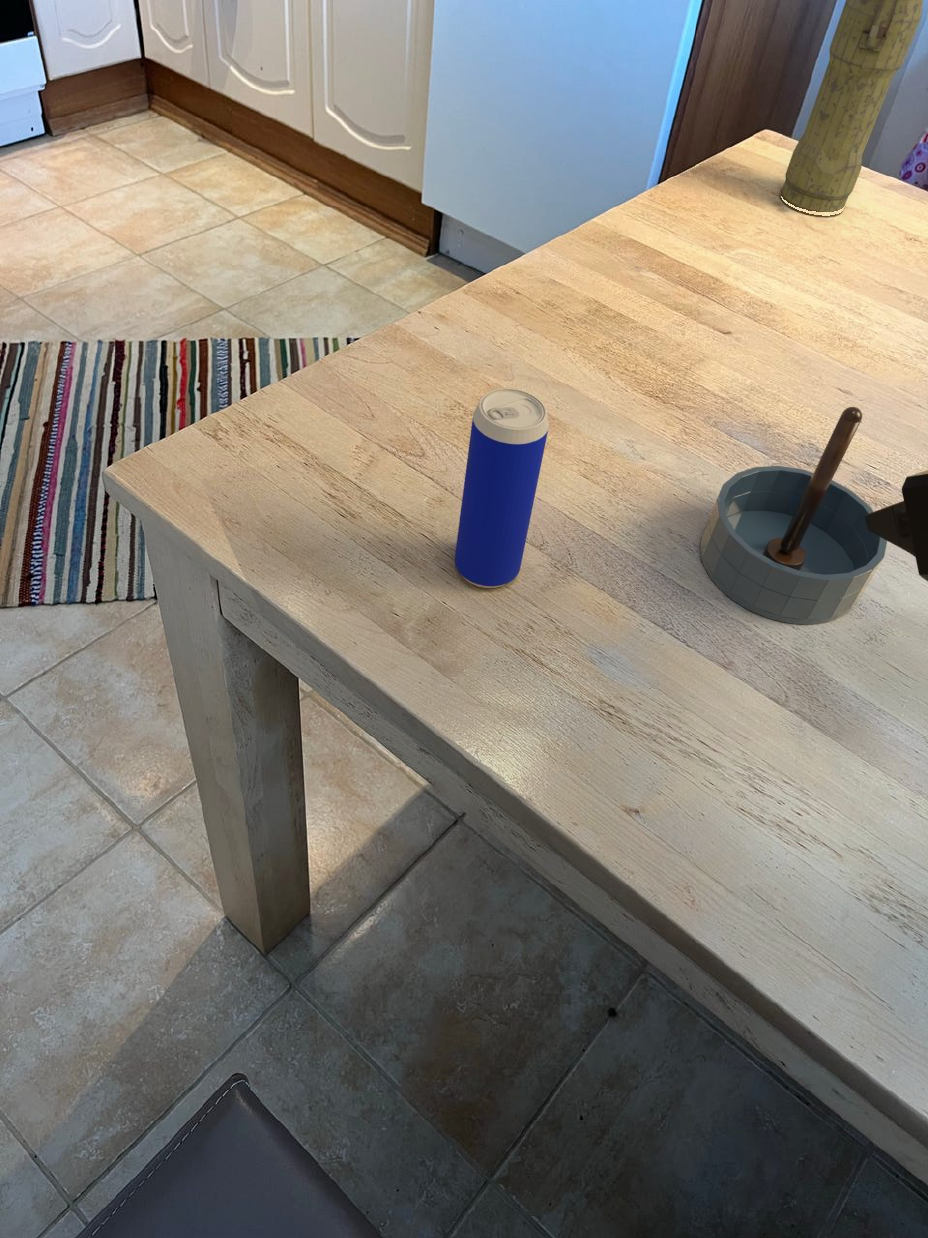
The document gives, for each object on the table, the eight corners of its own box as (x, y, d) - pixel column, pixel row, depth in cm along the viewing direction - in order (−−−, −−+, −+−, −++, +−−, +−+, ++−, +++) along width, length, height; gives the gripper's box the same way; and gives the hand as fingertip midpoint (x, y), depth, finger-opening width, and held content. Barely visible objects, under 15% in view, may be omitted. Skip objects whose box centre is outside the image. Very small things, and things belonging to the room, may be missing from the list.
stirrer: (809, 569, 77) (888, 418, 66) (777, 577, 76) (852, 425, 65) (786, 543, 79) (859, 392, 68) (755, 550, 78) (823, 398, 67)
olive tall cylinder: (842, 190, 132) (965, -124, 106) (846, 227, 124) (980, -104, 98) (778, 178, 132) (885, -137, 106) (778, 213, 124) (894, -118, 99)
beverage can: (500, 539, 76) (528, 380, 65) (530, 582, 73) (565, 423, 62) (442, 554, 74) (461, 393, 63) (471, 599, 72) (496, 438, 60)
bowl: (870, 544, 81) (895, 499, 77) (847, 648, 72) (875, 603, 68) (720, 492, 83) (738, 447, 80) (682, 586, 75) (700, 540, 71)
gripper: (1241, 295, 52) (986, 362, 67) (1020, 356, 45) (787, 416, 60) (1272, 492, 54) (1015, 516, 68) (1061, 580, 47) (824, 586, 61)
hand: (916, 505), depth 64 cm, fingers open, 9 cm apart
